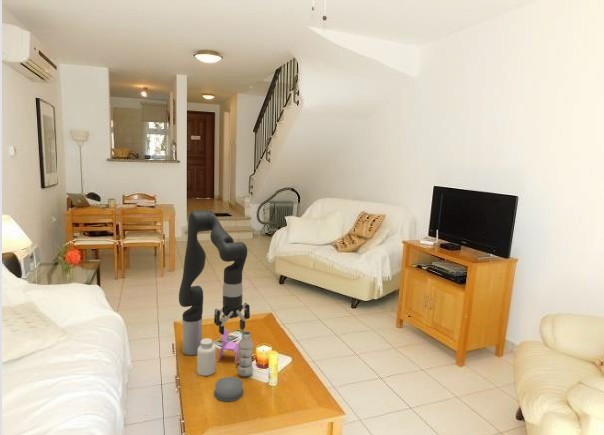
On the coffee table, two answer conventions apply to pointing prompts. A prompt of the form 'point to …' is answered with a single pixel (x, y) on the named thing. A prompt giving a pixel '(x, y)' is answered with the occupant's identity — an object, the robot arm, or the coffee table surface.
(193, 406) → the coffee table surface
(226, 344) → the toy chair
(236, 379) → the slate plinth
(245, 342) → the plastic bottle
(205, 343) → the pill bottle
